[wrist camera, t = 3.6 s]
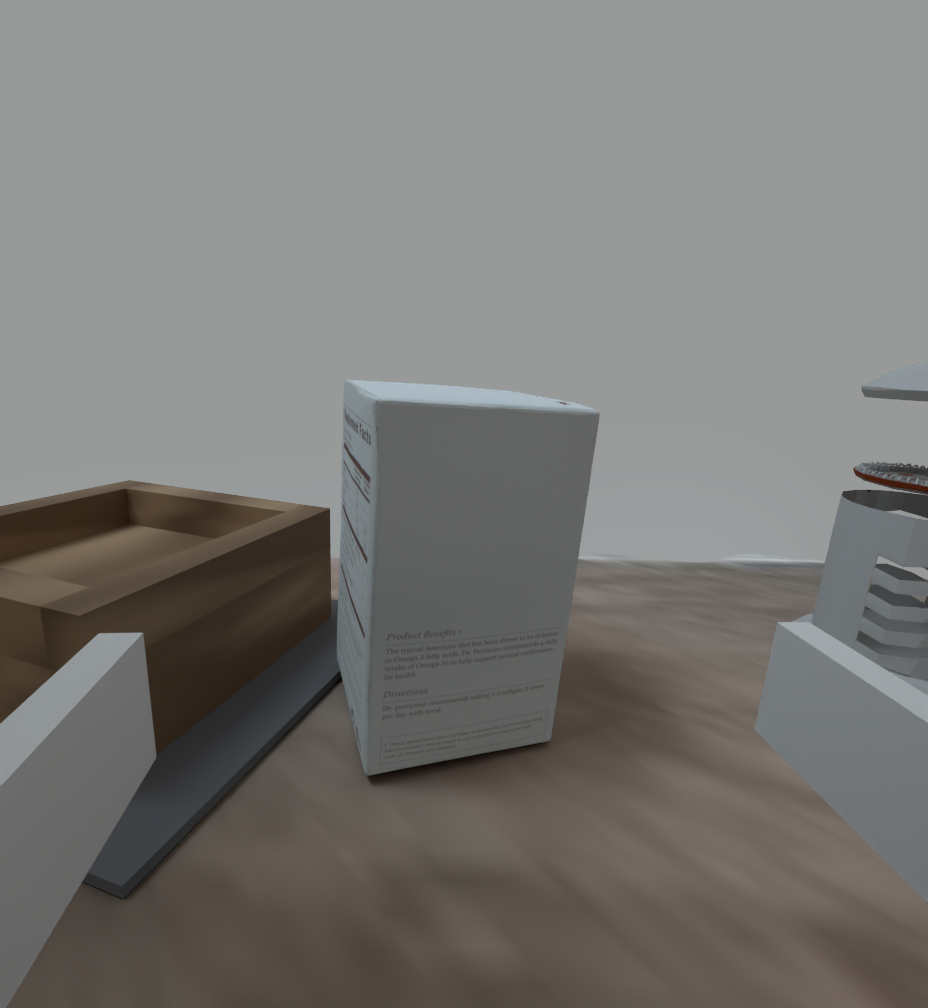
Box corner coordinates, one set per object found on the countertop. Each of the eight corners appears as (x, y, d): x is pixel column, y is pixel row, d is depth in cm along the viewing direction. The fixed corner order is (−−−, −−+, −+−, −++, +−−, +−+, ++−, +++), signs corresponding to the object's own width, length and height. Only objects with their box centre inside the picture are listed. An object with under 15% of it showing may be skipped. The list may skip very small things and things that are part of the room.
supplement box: (483, 645, 27) (512, 388, 23) (555, 747, 20) (609, 407, 17) (332, 660, 24) (341, 375, 21) (355, 783, 17) (374, 390, 14)
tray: (-163, 700, 20) (-205, 548, 18) (139, 578, 32) (128, 480, 30) (104, 796, 16) (78, 615, 15) (331, 617, 28) (329, 508, 27)
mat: (-292, 723, 19) (-295, 713, 19) (130, 566, 35) (129, 560, 35) (123, 898, 14) (121, 886, 14) (398, 618, 29) (398, 612, 29)
